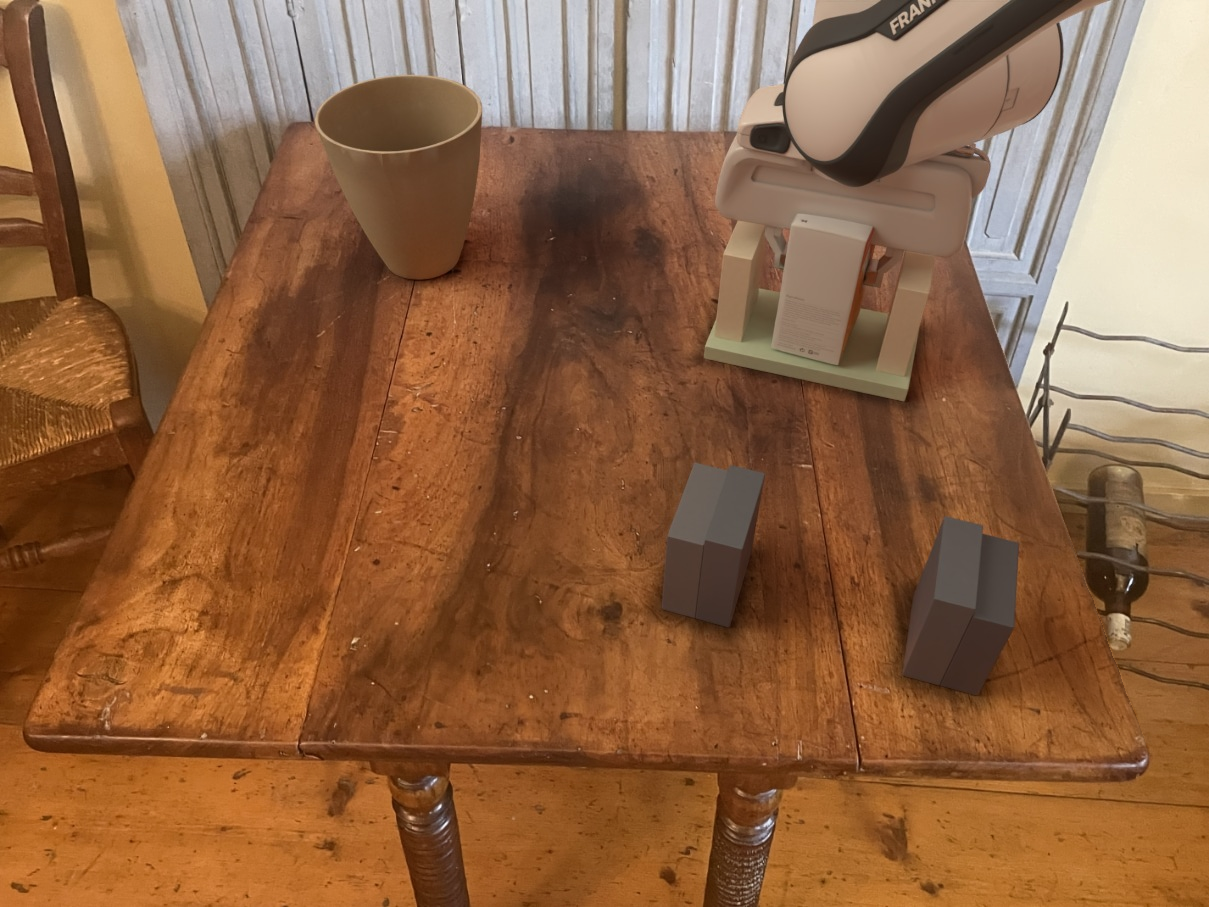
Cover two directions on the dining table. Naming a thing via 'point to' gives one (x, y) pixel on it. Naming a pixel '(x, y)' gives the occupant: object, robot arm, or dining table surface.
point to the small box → (822, 286)
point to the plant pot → (407, 166)
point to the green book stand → (872, 349)
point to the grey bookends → (942, 603)
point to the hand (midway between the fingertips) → (826, 274)
